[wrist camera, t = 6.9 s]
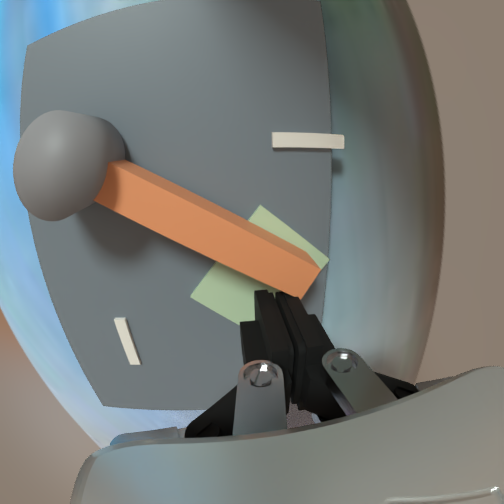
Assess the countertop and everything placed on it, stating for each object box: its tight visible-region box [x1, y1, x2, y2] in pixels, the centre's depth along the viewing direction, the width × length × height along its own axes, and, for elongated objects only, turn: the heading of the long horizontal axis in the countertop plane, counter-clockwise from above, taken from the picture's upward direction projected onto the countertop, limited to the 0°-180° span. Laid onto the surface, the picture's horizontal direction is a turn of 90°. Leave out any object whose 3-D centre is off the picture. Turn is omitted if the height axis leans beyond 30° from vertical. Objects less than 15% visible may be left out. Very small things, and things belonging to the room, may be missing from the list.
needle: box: [13, 110, 321, 299], centre depth 9 cm, size 12×4×3 cm, turn 60°
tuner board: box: [20, 0, 344, 410], centre depth 12 cm, size 22×14×1 cm, turn 2°
